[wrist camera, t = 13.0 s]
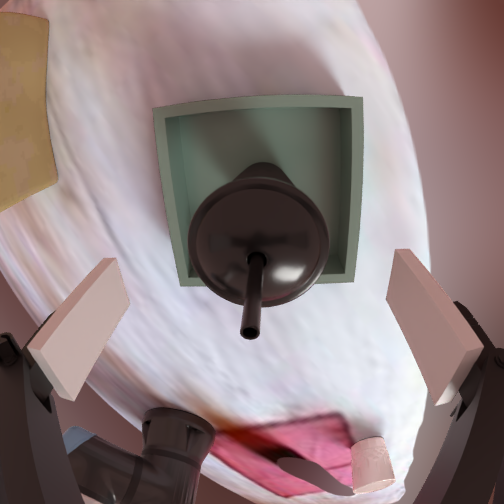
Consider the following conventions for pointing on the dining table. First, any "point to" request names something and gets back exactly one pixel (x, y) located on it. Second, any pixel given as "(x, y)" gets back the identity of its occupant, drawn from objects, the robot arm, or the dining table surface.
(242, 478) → the dining table surface
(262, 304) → the drinking cup
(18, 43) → the cheese
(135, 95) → the dining table surface
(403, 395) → the dining table surface
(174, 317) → the dining table surface
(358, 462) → the white cup
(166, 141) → the grey-green shallow box
